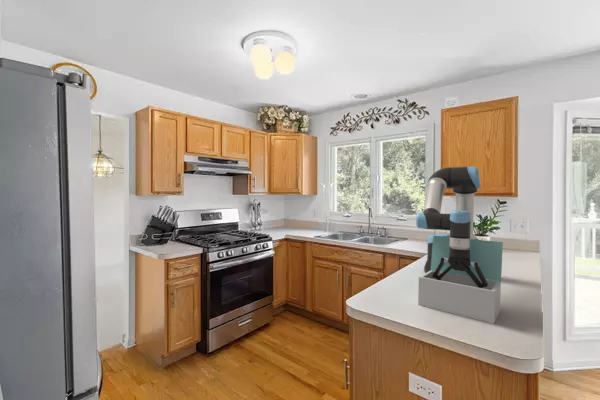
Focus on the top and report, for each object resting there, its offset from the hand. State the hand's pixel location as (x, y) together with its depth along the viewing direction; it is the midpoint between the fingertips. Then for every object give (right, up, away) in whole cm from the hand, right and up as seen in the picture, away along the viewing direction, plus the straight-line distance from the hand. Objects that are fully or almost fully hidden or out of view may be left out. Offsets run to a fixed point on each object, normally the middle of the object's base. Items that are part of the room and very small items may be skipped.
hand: (458, 298), depth 121 cm
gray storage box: (0, -4, 0) cm, 4 cm away
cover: (+6, +16, +6) cm, 18 cm away
